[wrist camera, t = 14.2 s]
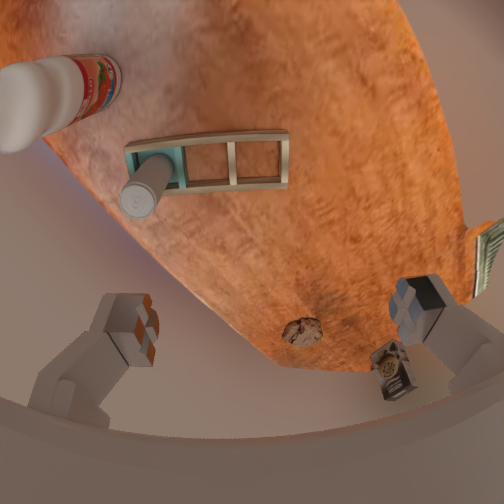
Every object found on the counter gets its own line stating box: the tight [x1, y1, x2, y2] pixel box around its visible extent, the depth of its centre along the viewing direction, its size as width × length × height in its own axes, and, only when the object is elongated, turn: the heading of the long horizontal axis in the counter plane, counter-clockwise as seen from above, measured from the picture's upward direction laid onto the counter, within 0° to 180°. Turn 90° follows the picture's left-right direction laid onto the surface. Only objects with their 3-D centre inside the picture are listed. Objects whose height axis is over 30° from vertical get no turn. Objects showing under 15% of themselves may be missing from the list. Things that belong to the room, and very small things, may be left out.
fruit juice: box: [0, 54, 121, 154], centre depth 20 cm, size 9×9×28 cm
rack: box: [124, 130, 289, 196], centre depth 40 cm, size 8×24×2 cm, turn 91°
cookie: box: [282, 318, 323, 348], centre depth 66 cm, size 10×11×3 cm
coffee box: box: [370, 339, 418, 401], centre depth 70 cm, size 9×6×16 cm
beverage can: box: [119, 154, 174, 219], centre depth 36 cm, size 5×5×12 cm
